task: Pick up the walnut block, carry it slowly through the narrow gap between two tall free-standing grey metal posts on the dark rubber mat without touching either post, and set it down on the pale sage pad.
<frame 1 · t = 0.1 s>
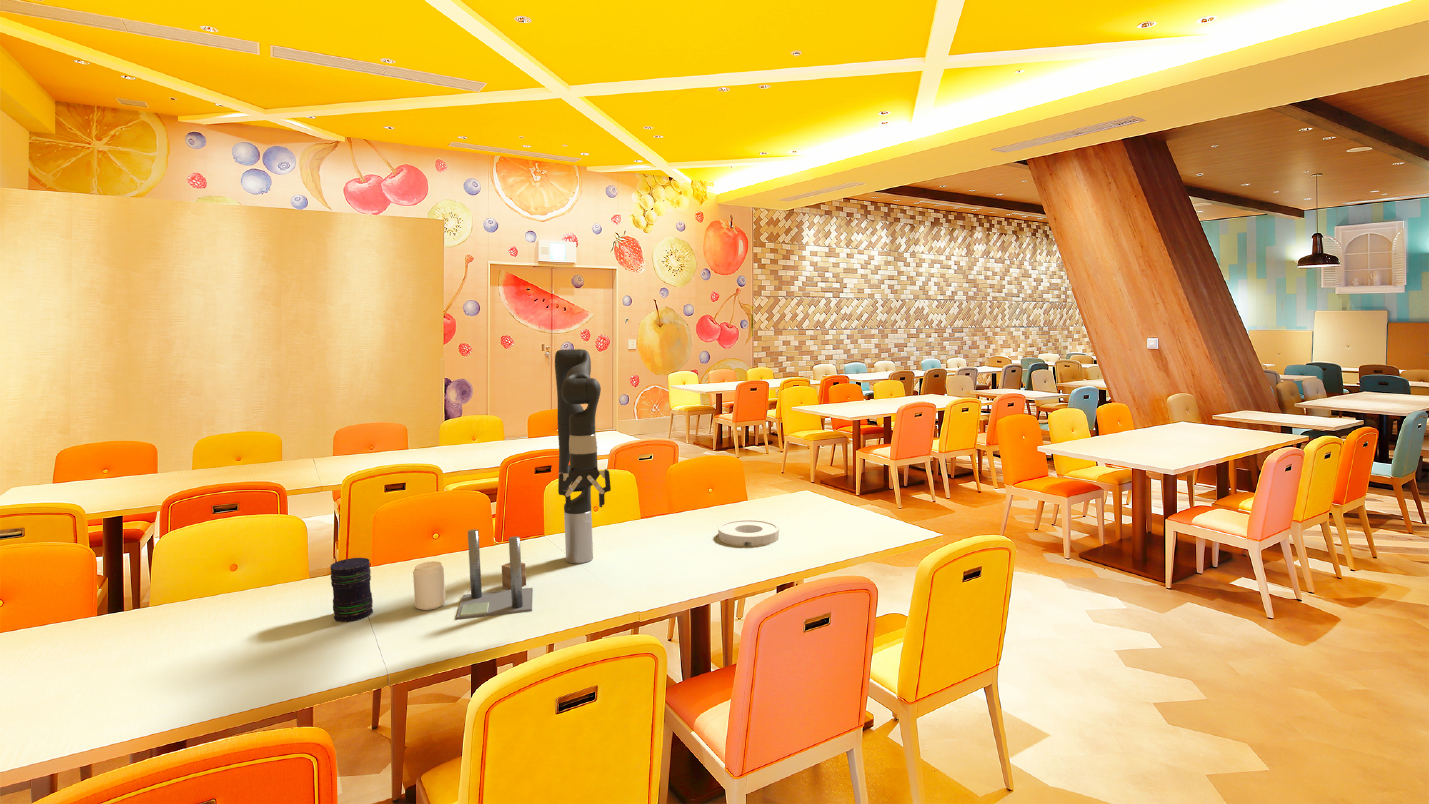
hand: (585, 508, 189), 29 cm above the table, fingers open, 8 cm apart
walnut block: (514, 586, 210), on the table
post b: (517, 606, 193), point 1 cm above the table, touching mat
pad: (475, 609, 191), resting on mat
mat: (496, 603, 197), on the table
beverage can: (430, 606, 196), on the table
black cylinder: (353, 615, 190), on the table
ashtray: (748, 538, 258), on the table
post a: (476, 596, 200), point 1 cm above the table, touching mat
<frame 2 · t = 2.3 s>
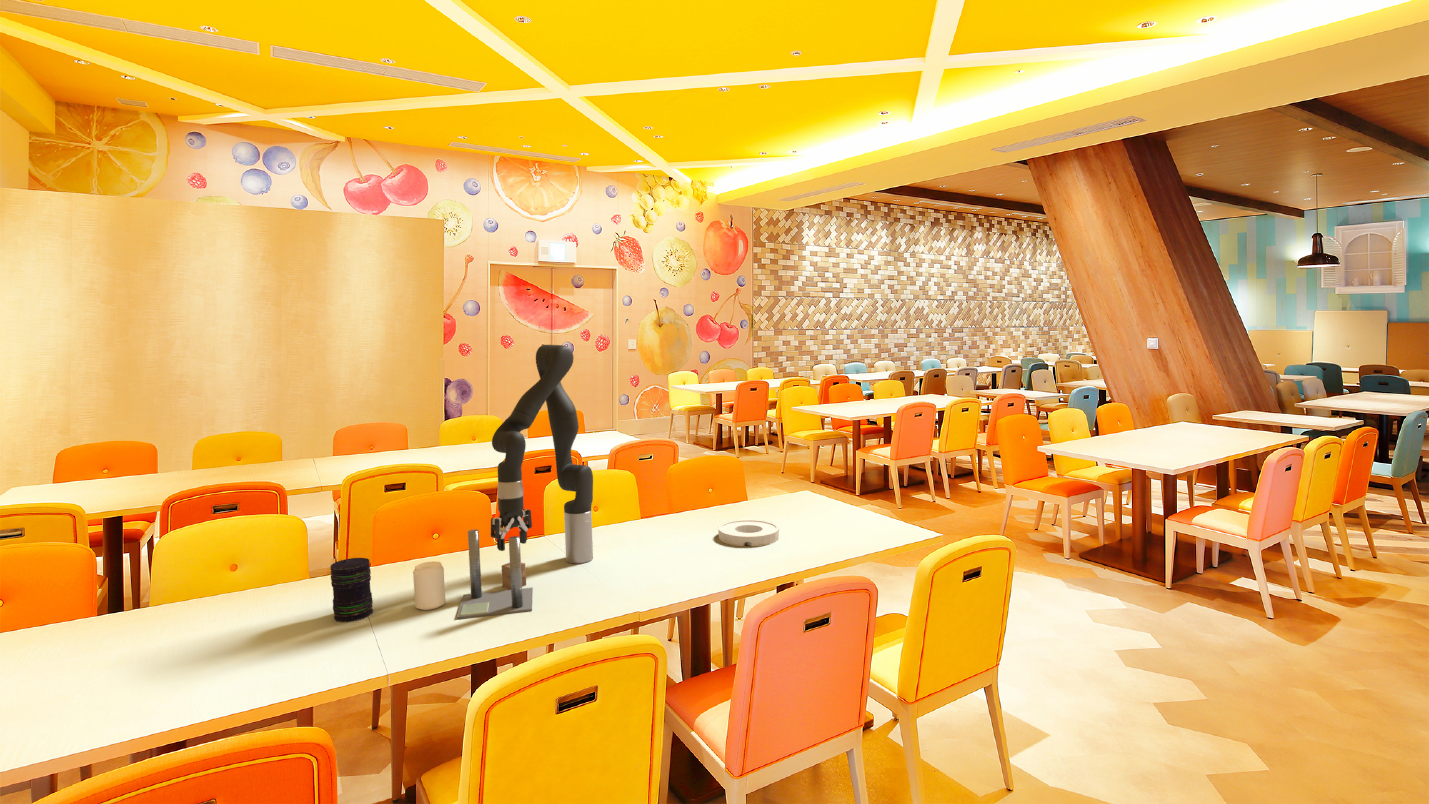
hand: (512, 546, 209), 13 cm above the table, fingers open, 8 cm apart
nothing on the table moved.
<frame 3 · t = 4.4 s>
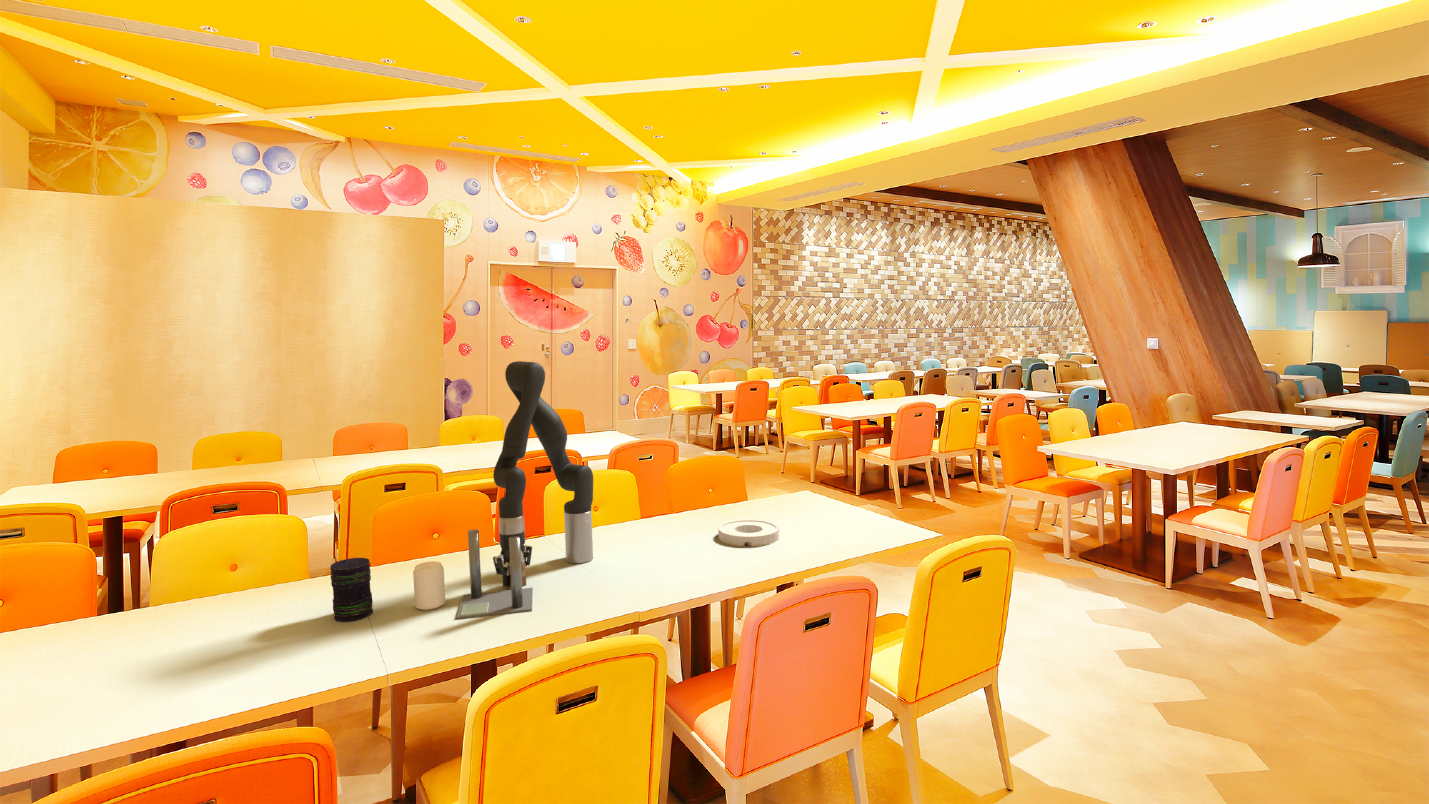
hand: (514, 583, 210), 1 cm above the table, fingers closed on walnut block, 5 cm apart
walnut block: (514, 586, 210), on the table, touching gripper
everything else where it was.
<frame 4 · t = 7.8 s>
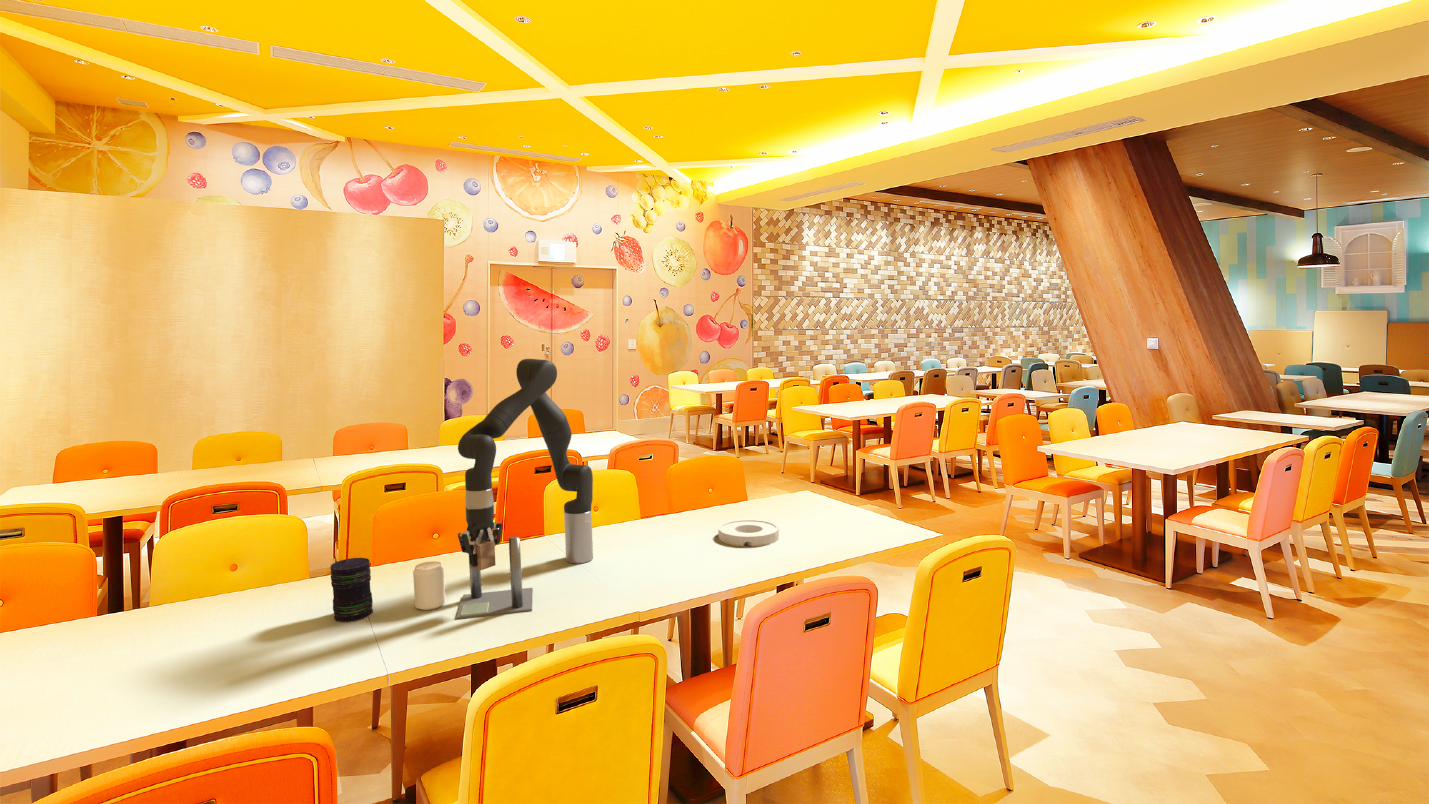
hand: (482, 563, 192), 13 cm above the table, fingers closed on walnut block, 5 cm apart
walnut block: (482, 566, 192), point 12 cm above the table, touching gripper
everything else where it was.
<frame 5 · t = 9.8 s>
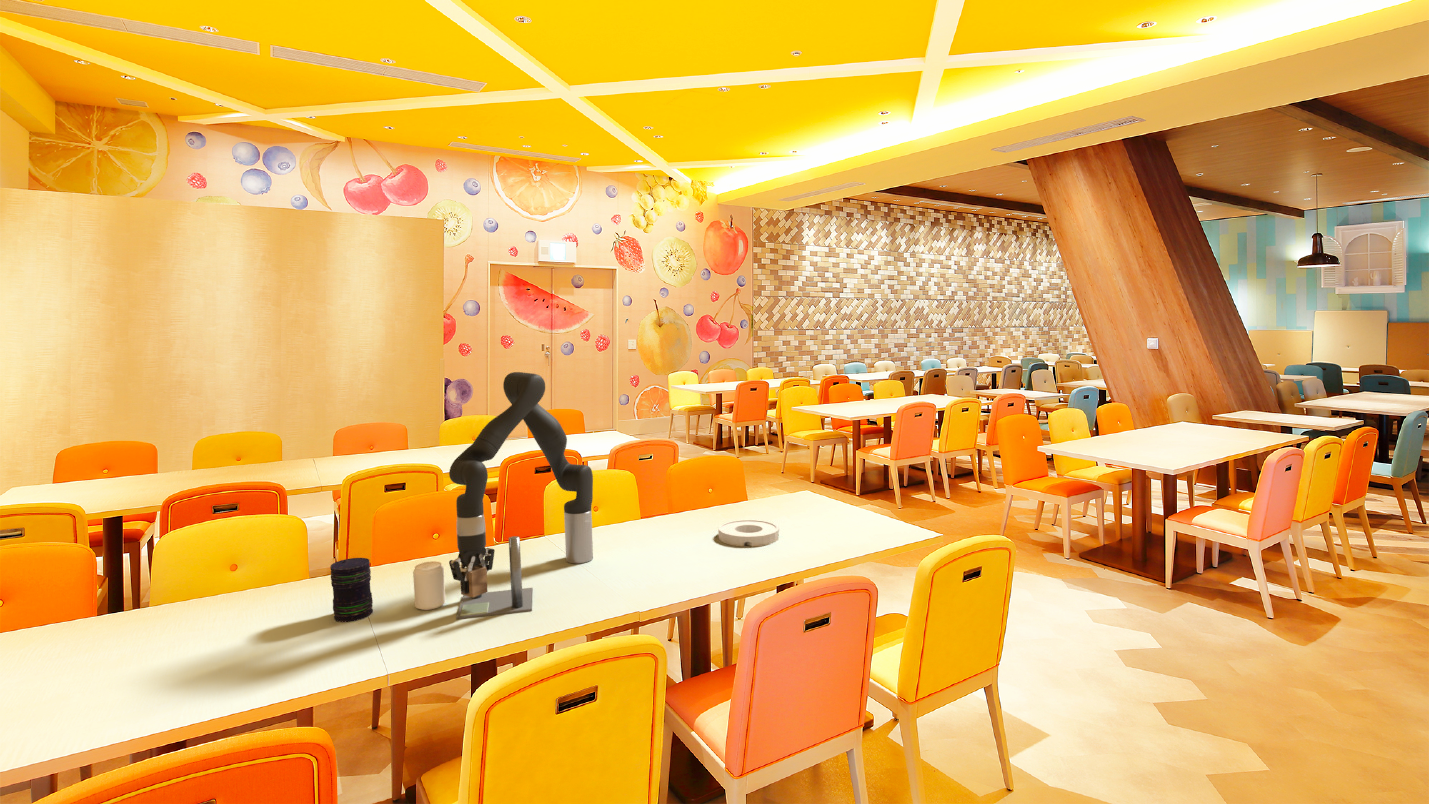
hand: (474, 589, 190), 6 cm above the table, fingers closed on walnut block, 5 cm apart
walnut block: (474, 593, 190), point 5 cm above the table, touching gripper
everything else where it was.
when the fingers open (3 cm above the table, at t = 11.3 s): walnut block stays where it is, resting on mat, pad.
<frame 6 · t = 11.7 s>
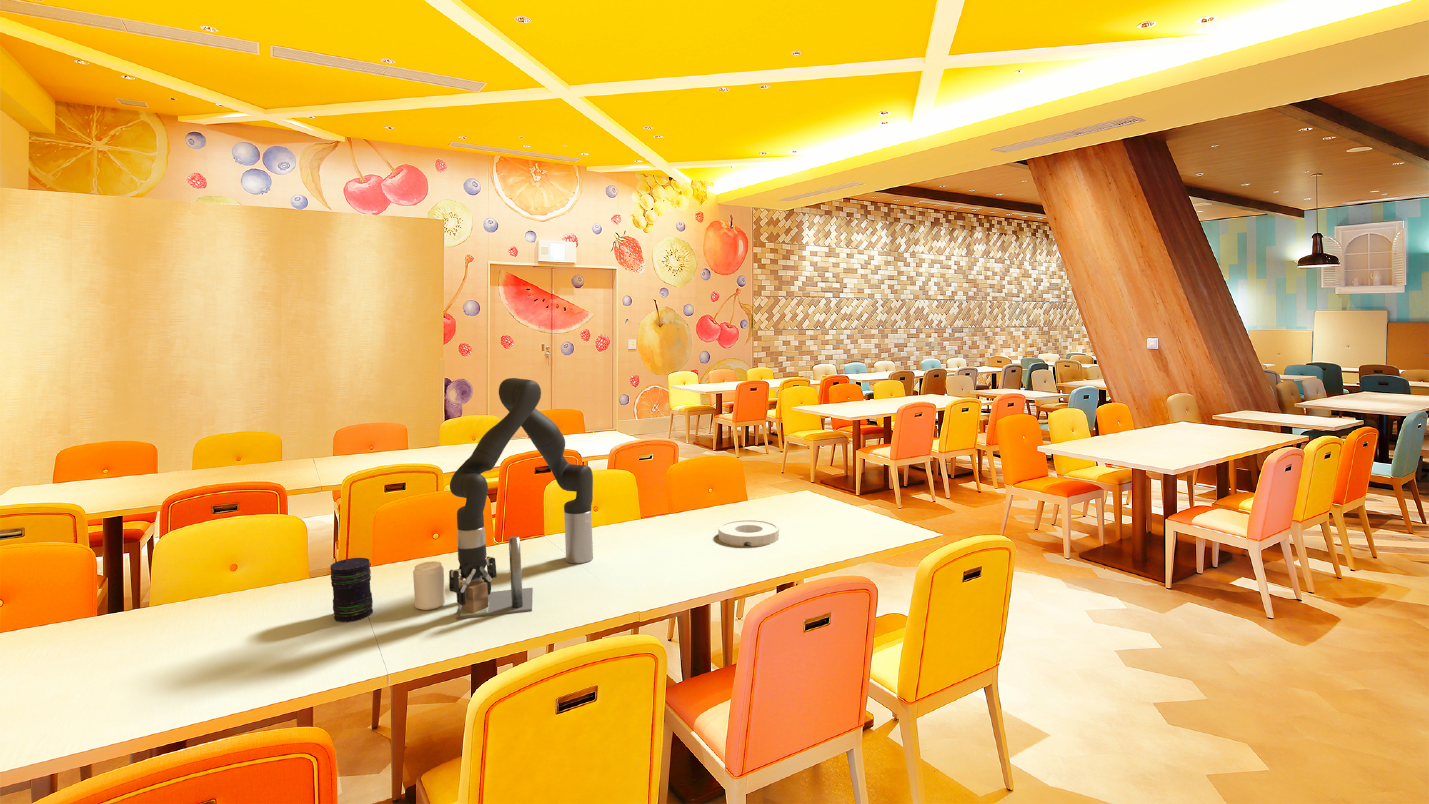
hand: (474, 599, 191), 4 cm above the table, fingers open, 8 cm apart
walnut block: (475, 608, 191), point 1 cm above the table, touching mat, pad
everything else where it was.
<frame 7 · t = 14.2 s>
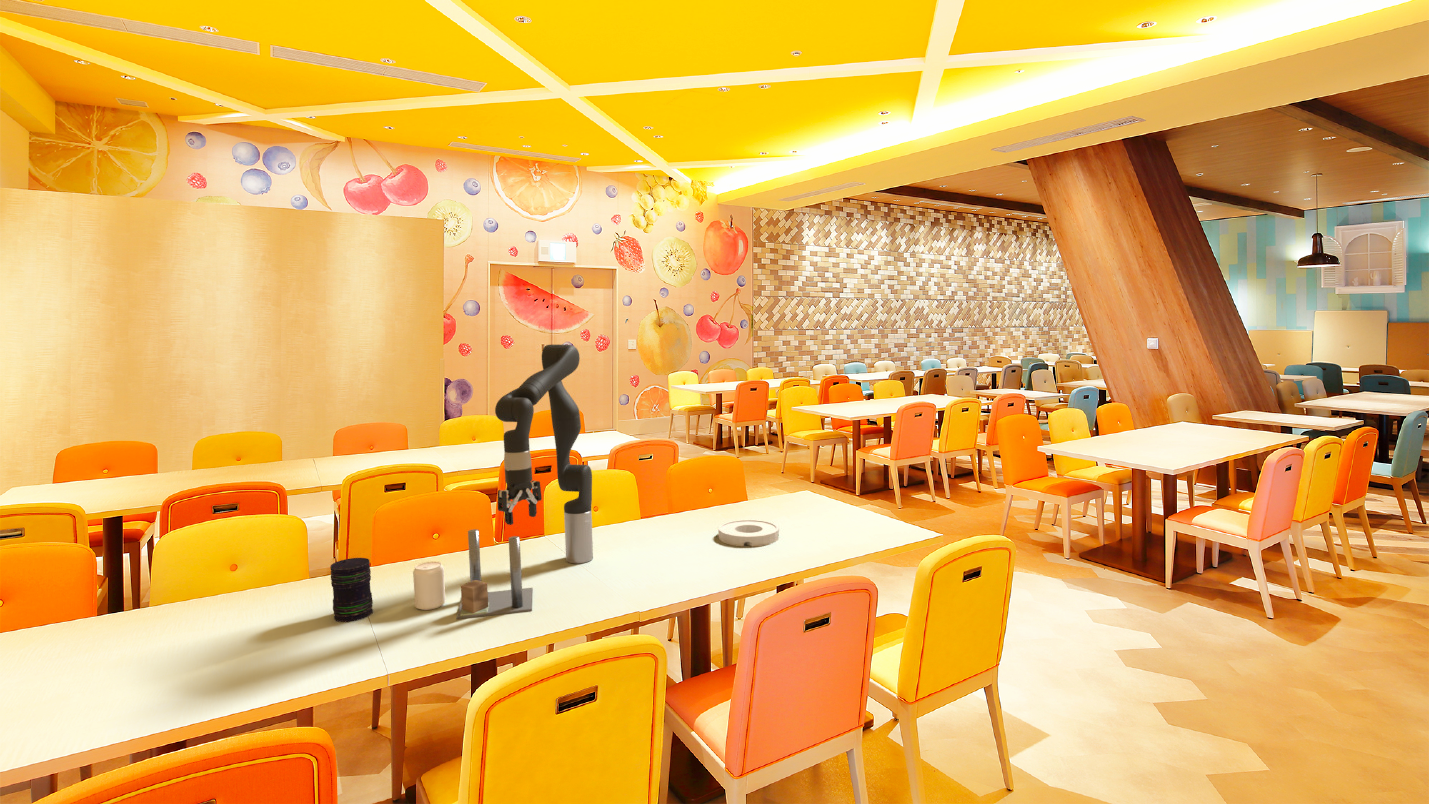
hand: (521, 520, 198), 24 cm above the table, fingers open, 8 cm apart
nothing on the table moved.
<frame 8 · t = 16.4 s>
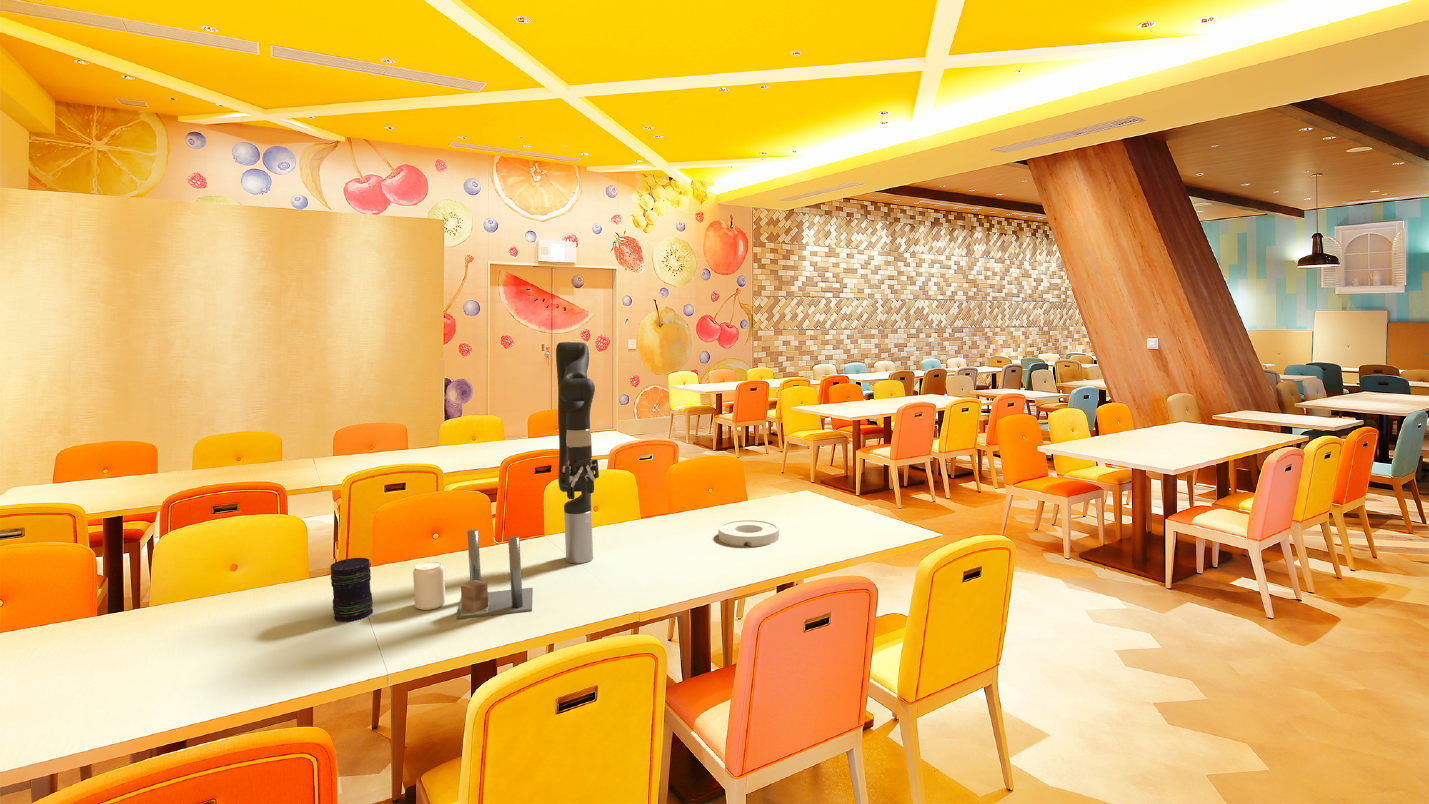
hand: (580, 496, 208), 28 cm above the table, fingers open, 8 cm apart
nothing on the table moved.
at the end: walnut block inside the target area on the pad (0.1 cm from its centre), point 0.4 cm above the pad's base; post a moved 0.0 cm from its start; post b moved 0.0 cm from its start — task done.
